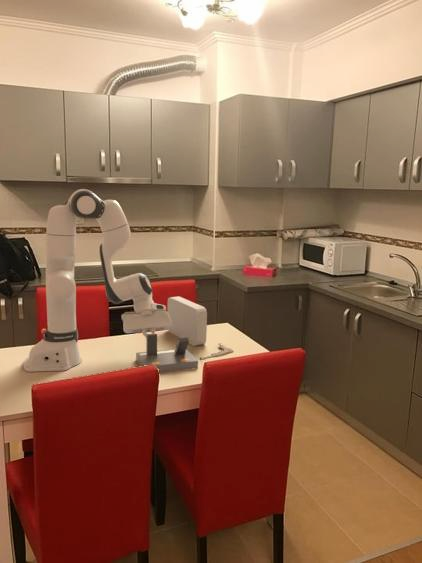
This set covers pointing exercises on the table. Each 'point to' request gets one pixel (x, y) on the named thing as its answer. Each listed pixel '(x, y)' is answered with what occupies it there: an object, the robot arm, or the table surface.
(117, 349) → the table surface
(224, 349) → the jawbone
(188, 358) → the breaker panel
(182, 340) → the lever
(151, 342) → the lever
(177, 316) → the light grey rounded box
